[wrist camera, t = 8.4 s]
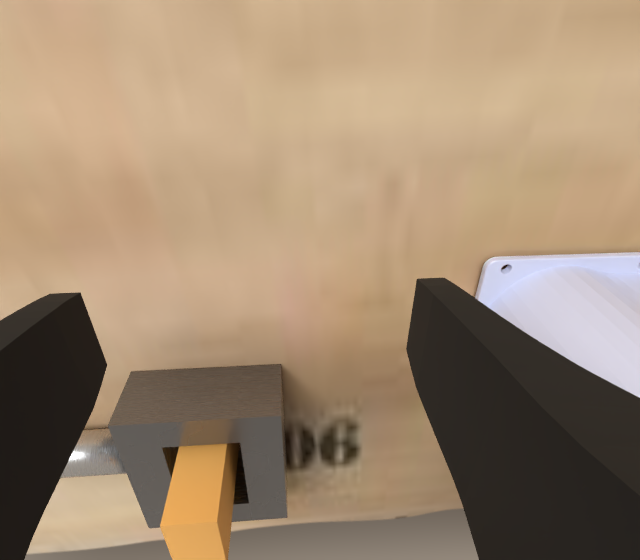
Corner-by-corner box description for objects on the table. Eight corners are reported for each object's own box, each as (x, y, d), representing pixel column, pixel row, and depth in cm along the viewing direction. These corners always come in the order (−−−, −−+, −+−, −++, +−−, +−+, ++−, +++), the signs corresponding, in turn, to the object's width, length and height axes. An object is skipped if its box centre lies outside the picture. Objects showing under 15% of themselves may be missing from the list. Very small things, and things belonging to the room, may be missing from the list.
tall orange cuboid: (232, 397, 24) (216, 521, 18) (239, 441, 26) (227, 565, 20) (190, 399, 23) (159, 526, 18) (200, 443, 26) (176, 570, 20)
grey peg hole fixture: (281, 364, 23) (281, 415, 20) (286, 464, 27) (287, 517, 24) (-27, 379, 21) (-77, 436, 18) (35, 480, 26) (3, 539, 23)
